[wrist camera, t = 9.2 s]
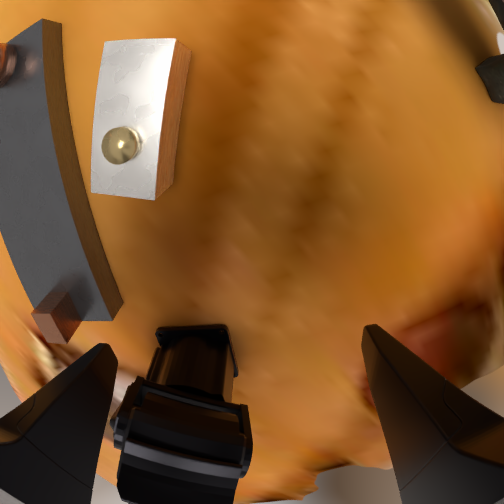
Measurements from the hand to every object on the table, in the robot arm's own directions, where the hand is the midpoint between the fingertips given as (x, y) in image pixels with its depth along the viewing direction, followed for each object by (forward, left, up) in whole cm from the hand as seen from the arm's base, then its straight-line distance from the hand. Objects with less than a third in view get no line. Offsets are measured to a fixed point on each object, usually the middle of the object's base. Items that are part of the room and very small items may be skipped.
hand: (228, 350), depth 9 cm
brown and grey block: (+5, -8, -12) cm, 15 cm away
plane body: (+16, -6, -12) cm, 21 cm away
